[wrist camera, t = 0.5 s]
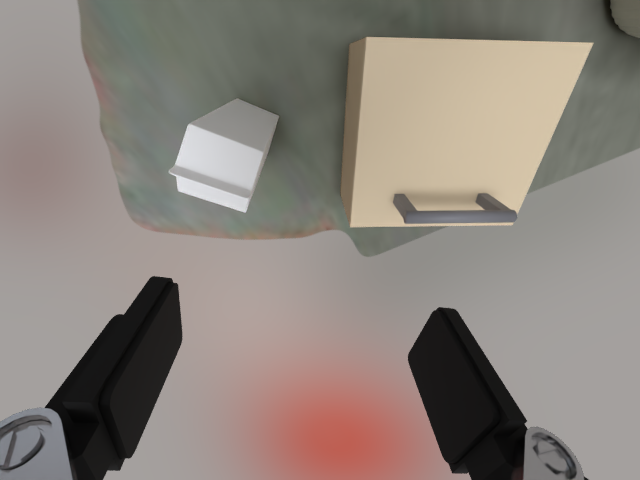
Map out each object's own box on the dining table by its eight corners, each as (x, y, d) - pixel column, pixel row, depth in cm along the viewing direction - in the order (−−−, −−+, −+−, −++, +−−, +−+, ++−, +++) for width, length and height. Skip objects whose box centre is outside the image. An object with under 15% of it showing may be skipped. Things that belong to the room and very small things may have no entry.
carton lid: (364, 37, 26) (381, 30, 21) (586, 43, 27) (657, 38, 22) (349, 224, 37) (357, 252, 31) (508, 222, 38) (543, 248, 32)
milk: (267, 155, 41) (239, 232, 23) (226, 140, 40) (161, 209, 21) (279, 114, 38) (260, 164, 20) (236, 96, 37) (171, 132, 18)
